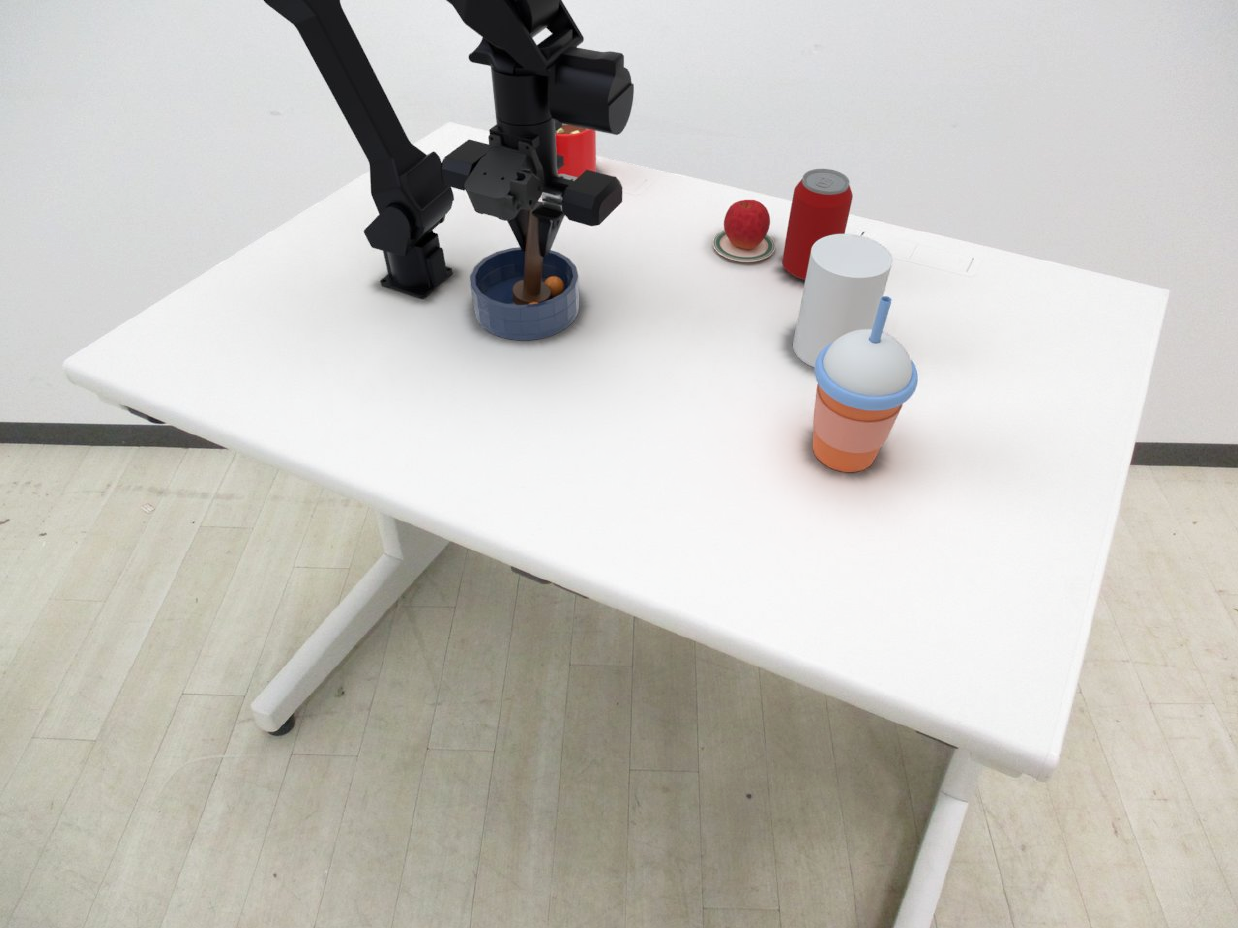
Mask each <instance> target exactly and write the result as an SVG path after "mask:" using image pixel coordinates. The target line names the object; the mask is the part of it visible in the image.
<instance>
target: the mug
mask: <svg viewBox="0 0 1238 928" xmlns="http://www.w3.org/2000/svg"><path fill="white" fill-rule="evenodd" d="M596 133H597V131H595V130H590V129H585V128H581V127H576V126H571V125H566V124H562V127H561V128H560V129H559V130H557V131H556V149H557V155H561V156H564V166H563V167H561V168H560V169H559V170H558V174H566V175H570V176H574V177H579V176H580V175H581V174H582V173H583V172H585V171H586V170H590V171H594V172H597V142H596V141H597V140H596V139H597V138H596V137H597V136H596V135H597V134H596Z"/></svg>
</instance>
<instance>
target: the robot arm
mask: <svg viewBox="0 0 1238 928" xmlns="http://www.w3.org/2000/svg"><path fill="white" fill-rule="evenodd" d="M445 1H446V2H448V3H449V4H450V5H451V6H452V7H453V8H454V10H455V11H456V13H457V14H458V16H459V17H460V19H461V21H462V22H463V23H464V24H465V26H467V27H468V28H470V29H471V30H472V31H474V33H476V34H477V35H478V36H480V37H481V41H480V42H479V44H478V45H477V46H476V48H475V49H474V50H473V51H472V52H471V53H469V54H468V60H469V62H471V63H473V64H478V65H484V66H489V67H490V74H491V83H492V93H493V102H494V111H495V112H494V113H495V121H496V124H495V125H494V126H492V127H491V128H490V129H489V131H488V132H489V134H488V143H484V142H480V141H477V140H473V139H467V140H466V141H465V142H463V143H462V144H460V145H459V146H457V147H456V148H455V149H454V150H452V151H451V152H450V153H448V154H447V155H445V156H444V157H443V159H441V157H440V156H439V154H438V152H436V151H431V152H429V153H428V154H426V153H425V152H424V151H423V150H421V149H420V148H419V147H417V146H416V145H414V144H413V143H412V142H411V140H410V139H409V137H408V135H407V134H406V132H405V129H404V127H403V126H402V123H401V121H400V119H399V118H398V116H397V113H396V111H395V110H394V108H393V106H392V103H391V102H390V99H389V98H388V96H387V94H386V92H385V90H384V88H383V86H382V84H381V82H380V80H379V78H378V76H377V74H376V72H375V71H374V68H373V66H372V65H371V62H370V60H369V58H368V57H367V54H366V52H365V51H364V48H363V46H362V44H361V43H360V41H359V38H358V37H357V35H356V32H355V31H354V28H353V27H352V25H351V23H350V20H349V18H348V17H347V15H346V13H345V11H344V9H343V7H342V4H341V0H263V2H264V3H265V4H266V5H267V6H268V7H270V8H271V9H272V10H273V11H275V12H276V13H278V15H280V16H281V17H283V18H284V19H286V20H287V21H288V22H289V23H291V24H292V25H293V26H294V27H295V29H296V31H298V33H299V36H300V37H301V40H302V41H303V43H304V45H305V47H306V48H307V50H308V52H309V54H310V56H311V57H312V60H313V62H314V63H315V65H316V67H317V69H318V71H319V73H320V74H321V76H322V78H323V80H324V82H325V84H326V85H327V87H328V89H329V91H330V93H331V94H332V96H333V98H334V101H335V102H336V104H337V106H338V108H339V110H340V111H341V113H342V115H343V117H344V119H345V120H346V123H347V124H348V126H349V128H350V130H351V132H352V133H353V136H354V137H355V140H357V143H358V145H359V146H360V148H361V150H362V151H363V154H364V155H365V158H366V159H367V162H368V164H369V179H370V181H369V182H370V194H371V197H372V200H373V202H374V205H375V207H376V210H377V212H378V215H377V216H376V217H375V218H374V219H373V220H372V221H371V222H370V223H369V224H368V226H367V227H366V228H364V230H363V234H364V236H365V238H366V240H367V241H368V243H369V245H370V247H371V248H372V249H374V250H375V249H376V250H378V251H382V253H383V258H384V263H385V266H386V271H387V274H386V275H385V276H384V277H383V278H381V279H380V281H379V282H380V286H382V287H385V288H388V289H390V290H394V291H397V292H400V293H403V294H407V295H410V296H412V297H414V298H415V297H416V298H419V299H425V298H426V297H428V296H429V295H430V294H431V293H432V292H433V291H435V290H436V289H437V288H438V287H439V286H441V284H442V283H443V282H444V281H446V280H447V279H448V278H449V277H451V275H453V273H454V270H453V267H450V266H446V265H447V264H446V260H445V254H444V253H445V252H444V249H443V247H441V243H440V237H439V233H437V232H435V231H434V230H435V229H436V228H437V227H438V226H439V225H440V224H443V223H444V222H445V219H446V215H447V214H448V213H449V212H450V210H451V209H452V206H453V202H454V201H455V196H454V195H455V194H454V192H453V189H457V190H460V191H463V192H464V191H465V192H466V194H467V196H468V199H469V200H470V201H469V202H470V203H471V206H472V208H473V210H474V212H476V214H480V215H483V214H484V215H487V216H490V217H495V218H498V219H499V220H500V221H506V222H507V224H508V226H509V228H510V230H511V232H512V234H513V236H514V238H515V240H516V241H517V243H518V247H520V248H521V250H522V251H523V252H525V250H526V234H527V217H528V210H532V209H533V208H534V206H535V205H536V203H537V202H538V201H539V200H540V199H541V198H542V199H541V202H542V203H541V204H540V205H539V206H538V207H537V208H536V209H535V210H534V211H532V212H531V213H532V215H534V216H535V217H536V218H537V219H538V226H539V245H540V252H541V256H542V257H544V258H545V257H546V256H547V255H548V254H549V253H550V250H552V247H553V245H554V243H555V240H556V238H557V235H558V233H559V230H560V227H561V225H562V222H563V220H564V218H565V217H566V218H567V219H568V221H571V222H575V223H579V224H582V225H585V226H588V227H596V226H600V225H601V224H602V223H603V222H604V221H605V220H606V219H607V218H608V217H610V215H611V214H612V213H613V212H614V211H615V210H616V209H617V208H618V207H619V206H620V205H621V204H622V203H623V185H622V183H621V181H620V180H619V179H618V177H616V176H614V175H609V174H606V173H602V172H598V171H596V172H594V171H590V170H586V171H585V172H583V173H582V174H581V175H580V176H579V177H574V176H570V175H566V174H558V170H559V169H560V168H561V167H563V166H564V156H561V155H557V149H556V131H557V130H559V129H560V128H561V127H562V124H566V125H571V126H576V127H581V128H585V129H590V130H595V131H596V132H600V133H605V134H609V135H614V136H618V135H621V133H623V131H624V130H625V128H626V126H627V124H628V122H629V119H630V117H631V112H632V107H633V102H634V95H635V84H634V83H633V82H632V76H631V73H630V71H629V69H628V68H627V67H625V55H624V54H623V53H622V52H618V51H617V52H616V51H611V50H610V51H599V50H594V49H586V48H582V47H579V46H580V45H582V43H583V42H584V41H585V38H584V35H583V34H582V32H581V31H580V29H579V26H578V25H577V23H576V22H575V21H574V19H573V17H572V16H571V13H570V12H569V11H568V9H567V7H566V5H565V3H564V2H563V0H445ZM545 29H547V30H548V32H550V34H549V35H548V36H547V37H545V38H544V39H543V40H542V41H540V42H539V43H538V44H537V43H536V41H535V40H534V38H535V37H536V36H537V35H539V34H540V33H541V32H543V31H544V30H545Z"/></svg>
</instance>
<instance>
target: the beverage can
mask: <svg viewBox="0 0 1238 928" xmlns="http://www.w3.org/2000/svg"><path fill="white" fill-rule="evenodd" d="M850 184H851V183H850V179H849V177H848V176H847V175H845V174H844V173H842V172H840V171H838V170H834V169H831V168H830V169H829V168H814V169H811V170H808V171H806V172H805V173H804V174H803V175H802V178H801V180H800V181H798V183H797V184H796V185H795V187H794V190H793V195H792V201H791V204H790V205H791V206H790V212H789V218H788V222H787V228H786V236H785V241H784V247H783V254H782V266H783V268H784V269H785V270H786V271H787V272H788V273H789V274H790V275H792V276H794V277H796V278H798V279H800V280H803V281H805V280H806V275H807V269H808V264H809V259H810V254H811V249H812V246H813V245H814V243H815V242H816V241H818V240H819V239H821V238H823V237H826V236H829V235H834V234H846V230H847V226H848V221H849V216H850V211H851V207H852V202H853V191H852V189H851V185H850Z"/></svg>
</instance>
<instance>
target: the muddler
mask: <svg viewBox="0 0 1238 928" xmlns="http://www.w3.org/2000/svg"><path fill="white" fill-rule="evenodd" d="M541 203H542V201H539V200H538V202H537V203H536V205H535V206H534V208H533V209H532V210H528V217H527V234H526V250H525V266H524V280H521V281H519V282H517V283H516V284H515V285H514V286H513V289H512V299H513V302H514V303H515V304H516V305H528V304H530V303H532V302H538V303H540V302H544V301H547V300H550V298H551V290H550V288H549V286H548V285H547V284H545V283H544V282H542V281H541V280H542V267H543V257H542V256H541V252H540V245H539V226H538V219H537V218H536V217H535V216H534V215H532V213H531V212H532V211H534V210H535V209H536V208H537V207H538V206H539V205H540V204H541Z"/></svg>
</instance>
